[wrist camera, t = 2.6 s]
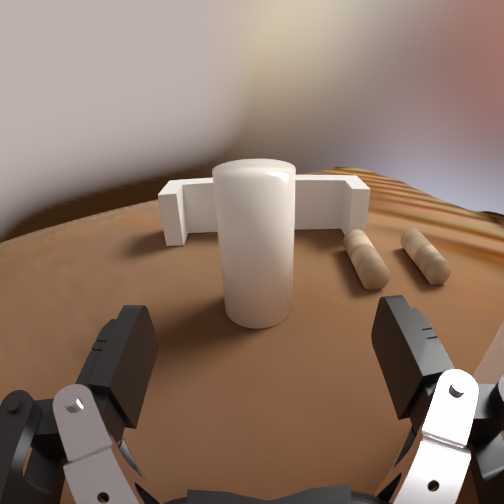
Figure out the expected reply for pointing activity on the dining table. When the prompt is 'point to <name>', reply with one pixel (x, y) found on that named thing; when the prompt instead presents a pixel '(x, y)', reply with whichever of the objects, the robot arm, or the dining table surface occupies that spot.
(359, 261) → the roller
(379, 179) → the dining table surface
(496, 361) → the jar
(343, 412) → the dining table surface
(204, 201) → the stop rail
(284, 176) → the white pillar candle
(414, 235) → the roller
